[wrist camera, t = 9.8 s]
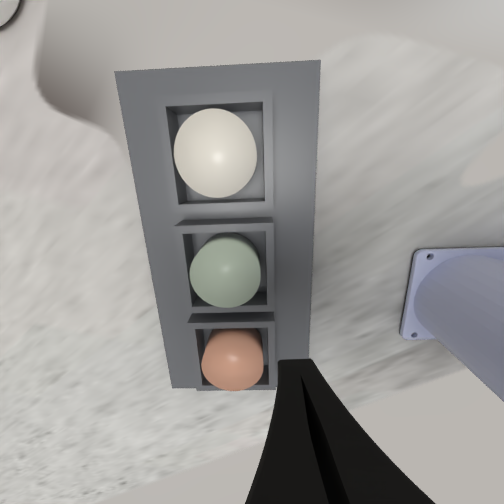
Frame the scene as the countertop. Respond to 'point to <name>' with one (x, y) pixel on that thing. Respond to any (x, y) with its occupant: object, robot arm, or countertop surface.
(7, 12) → the can
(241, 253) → the sage button
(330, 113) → the countertop surface
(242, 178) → the cream button
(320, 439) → the robot arm
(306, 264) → the panel
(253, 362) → the terracotta button
